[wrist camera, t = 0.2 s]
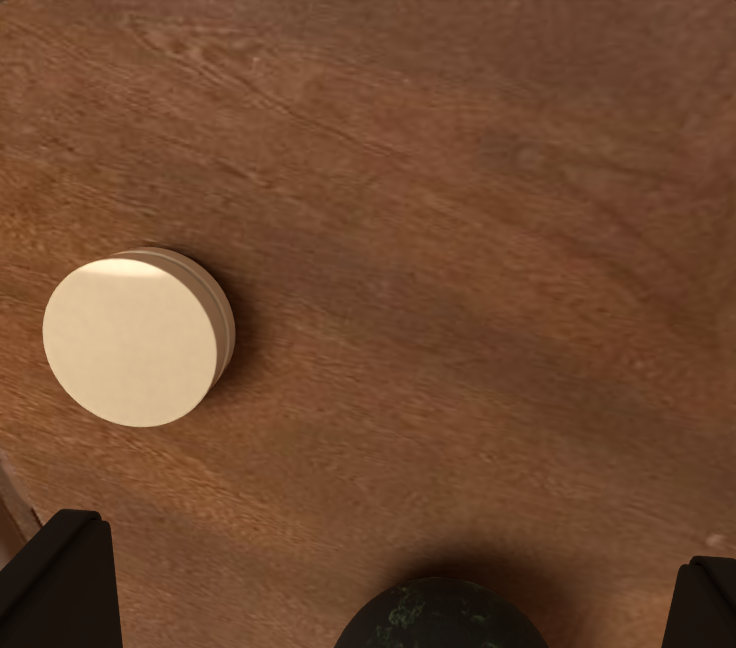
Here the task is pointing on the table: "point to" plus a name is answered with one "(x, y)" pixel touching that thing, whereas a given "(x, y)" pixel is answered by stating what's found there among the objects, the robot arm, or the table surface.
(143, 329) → the beige round container
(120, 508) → the table surface
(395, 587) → the decorative stone
